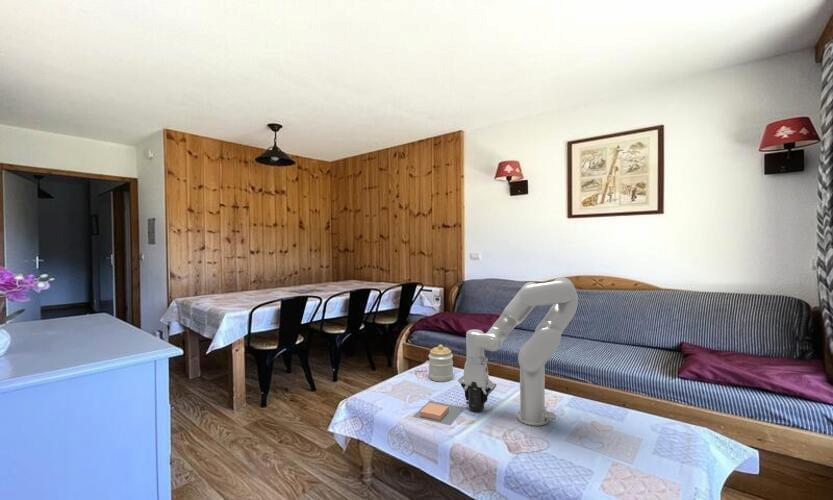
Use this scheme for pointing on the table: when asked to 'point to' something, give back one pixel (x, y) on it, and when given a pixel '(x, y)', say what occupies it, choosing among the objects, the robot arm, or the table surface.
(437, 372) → the jar
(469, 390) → the supplement bottle
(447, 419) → the slate mat
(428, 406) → the tile
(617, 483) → the table surface
